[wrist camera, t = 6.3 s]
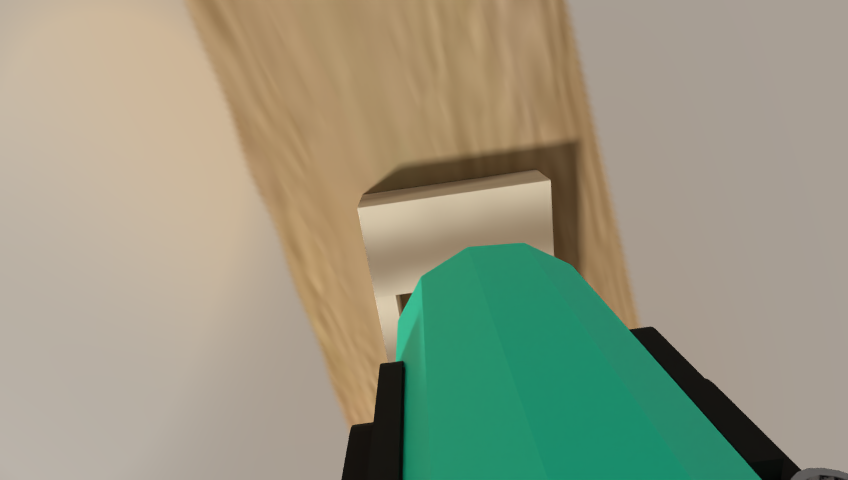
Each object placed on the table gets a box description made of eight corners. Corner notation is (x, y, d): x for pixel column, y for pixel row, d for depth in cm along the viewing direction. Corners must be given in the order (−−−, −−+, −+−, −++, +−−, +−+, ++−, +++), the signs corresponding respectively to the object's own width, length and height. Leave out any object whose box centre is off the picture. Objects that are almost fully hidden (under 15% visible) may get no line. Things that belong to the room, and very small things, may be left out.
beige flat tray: (362, 194, 28) (357, 208, 25) (536, 169, 28) (550, 180, 25) (410, 440, 35) (410, 472, 32) (550, 422, 35) (562, 452, 32)
